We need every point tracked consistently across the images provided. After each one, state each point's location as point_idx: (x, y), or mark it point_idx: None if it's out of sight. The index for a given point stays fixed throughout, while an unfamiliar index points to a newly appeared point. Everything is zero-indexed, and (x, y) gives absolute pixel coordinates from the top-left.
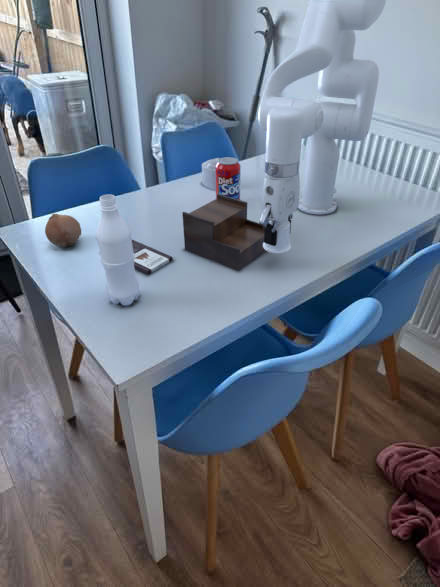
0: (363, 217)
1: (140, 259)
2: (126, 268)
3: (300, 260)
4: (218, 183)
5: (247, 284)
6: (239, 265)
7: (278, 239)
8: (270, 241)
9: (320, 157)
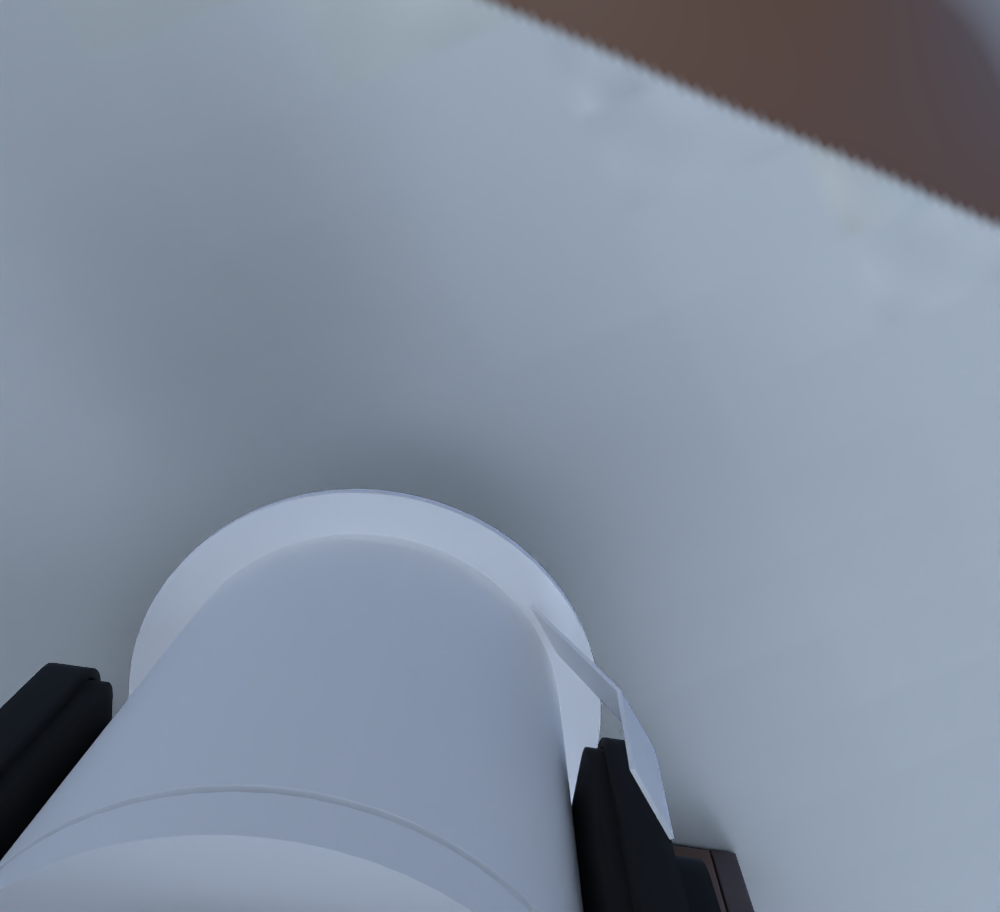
0: None
1: None
2: None
3: (156, 329)
4: None
5: (947, 675)
6: (729, 896)
7: (653, 787)
8: (706, 885)
9: None
